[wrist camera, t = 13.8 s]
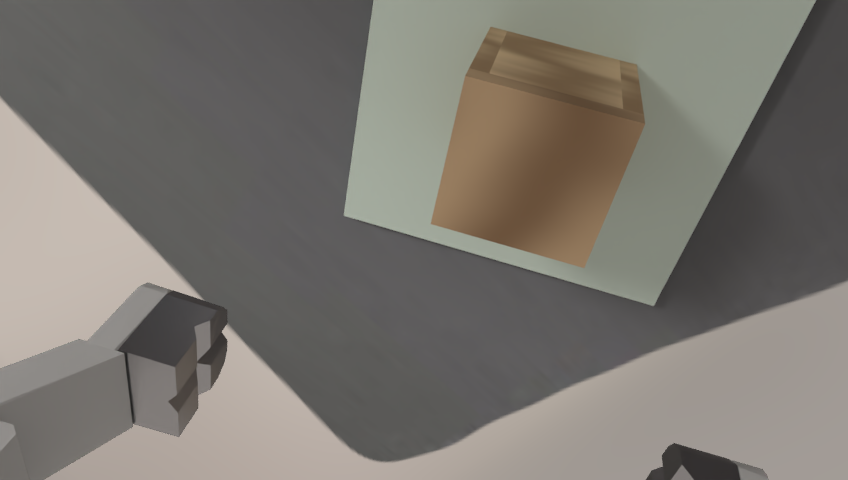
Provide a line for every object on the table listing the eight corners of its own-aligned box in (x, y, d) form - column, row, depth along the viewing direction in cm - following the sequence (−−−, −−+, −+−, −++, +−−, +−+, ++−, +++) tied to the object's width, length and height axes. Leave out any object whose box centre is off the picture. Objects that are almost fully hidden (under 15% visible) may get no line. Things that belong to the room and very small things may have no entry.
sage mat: (347, 209, 33) (343, 215, 33) (397, -144, 24) (393, -143, 23) (652, 298, 32) (653, 306, 31) (829, -38, 23) (834, -35, 22)
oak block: (458, 156, 29) (430, 224, 25) (490, 26, 26) (465, 75, 21) (587, 191, 29) (584, 268, 24) (636, 64, 26) (645, 123, 21)
